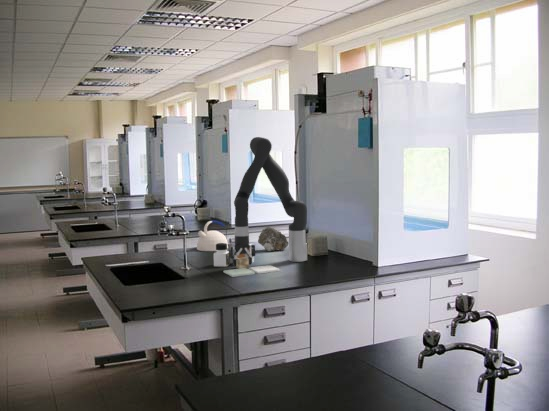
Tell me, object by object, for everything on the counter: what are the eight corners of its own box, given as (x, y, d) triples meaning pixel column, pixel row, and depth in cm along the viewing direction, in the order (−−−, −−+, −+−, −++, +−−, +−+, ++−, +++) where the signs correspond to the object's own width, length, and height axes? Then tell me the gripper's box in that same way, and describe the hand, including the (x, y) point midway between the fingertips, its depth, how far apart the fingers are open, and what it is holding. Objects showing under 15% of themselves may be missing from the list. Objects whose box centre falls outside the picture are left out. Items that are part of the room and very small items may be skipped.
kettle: (189, 249, 356) (188, 221, 354) (215, 245, 370) (215, 218, 368) (208, 252, 341) (207, 223, 339) (235, 248, 355) (234, 220, 353)
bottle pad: (245, 269, 287) (245, 268, 287) (254, 274, 276) (254, 272, 276) (223, 272, 282) (223, 270, 282) (232, 276, 271) (232, 274, 271)
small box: (237, 263, 305) (236, 244, 305) (241, 261, 311) (240, 242, 310) (250, 264, 302) (249, 244, 302) (254, 262, 308) (254, 243, 307)
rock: (270, 224, 334) (267, 217, 348) (254, 242, 335) (251, 234, 350) (292, 243, 339) (288, 235, 354) (276, 260, 341) (273, 252, 355)
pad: (269, 267, 293) (269, 265, 293) (279, 271, 282) (279, 269, 282) (248, 269, 288) (248, 267, 288) (258, 273, 277) (258, 271, 277)
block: (245, 266, 296) (244, 257, 296) (248, 268, 292) (248, 258, 291) (236, 267, 294) (236, 258, 293) (240, 269, 289) (239, 259, 289)
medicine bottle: (226, 266, 296) (225, 244, 295) (213, 266, 298) (213, 244, 297) (230, 264, 303) (229, 242, 302) (217, 263, 305) (217, 242, 304)
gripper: (251, 232, 297) (251, 262, 299) (226, 234, 291) (227, 265, 293) (257, 234, 291) (257, 265, 292) (231, 236, 284) (232, 267, 286)
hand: (242, 265), depth 292 cm, fingers open, 8 cm apart
